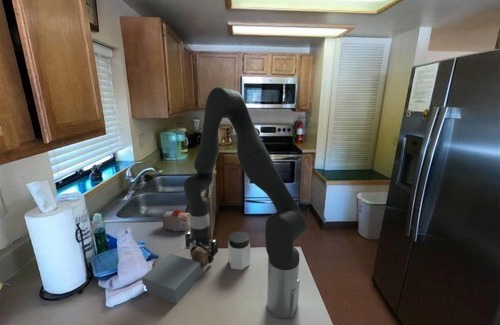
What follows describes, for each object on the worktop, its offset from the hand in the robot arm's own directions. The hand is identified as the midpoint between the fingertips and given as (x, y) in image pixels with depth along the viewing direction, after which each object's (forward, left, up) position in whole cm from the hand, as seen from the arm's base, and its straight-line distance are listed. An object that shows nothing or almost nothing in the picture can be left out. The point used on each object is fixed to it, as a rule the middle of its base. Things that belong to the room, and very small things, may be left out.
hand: (202, 259), depth 95 cm
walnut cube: (0, 0, -1) cm, 1 cm away
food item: (+27, -15, -2) cm, 31 cm away
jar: (-14, -6, -1) cm, 15 cm away
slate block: (+2, +14, -2) cm, 14 cm away
